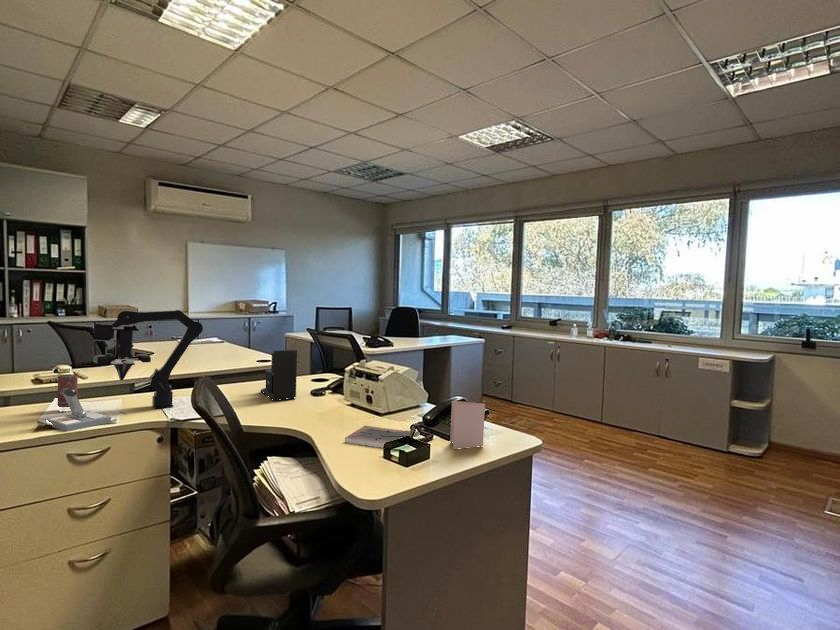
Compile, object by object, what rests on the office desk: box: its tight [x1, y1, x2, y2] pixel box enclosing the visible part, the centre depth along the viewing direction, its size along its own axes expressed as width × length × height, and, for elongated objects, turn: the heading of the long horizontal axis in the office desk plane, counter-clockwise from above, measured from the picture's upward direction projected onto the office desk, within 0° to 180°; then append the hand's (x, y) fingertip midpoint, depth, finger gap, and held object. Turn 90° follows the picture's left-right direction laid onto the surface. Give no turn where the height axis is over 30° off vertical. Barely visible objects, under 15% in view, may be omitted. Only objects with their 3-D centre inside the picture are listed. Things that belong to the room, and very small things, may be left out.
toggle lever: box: [60, 388, 86, 418], centre depth 161 cm, size 2×6×11 cm, turn 63°
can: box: [57, 374, 79, 407], centre depth 178 cm, size 6×6×14 cm
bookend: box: [260, 349, 298, 401], centre depth 220 cm, size 23×11×24 cm, turn 33°
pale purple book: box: [344, 425, 421, 449], centre depth 159 cm, size 16×2×22 cm
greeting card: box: [449, 400, 486, 450], centre depth 154 cm, size 11×7×15 cm, turn 77°
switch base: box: [45, 410, 112, 432], centre depth 163 cm, size 14×14×2 cm
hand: (121, 380), depth 182 cm, fingers closed
